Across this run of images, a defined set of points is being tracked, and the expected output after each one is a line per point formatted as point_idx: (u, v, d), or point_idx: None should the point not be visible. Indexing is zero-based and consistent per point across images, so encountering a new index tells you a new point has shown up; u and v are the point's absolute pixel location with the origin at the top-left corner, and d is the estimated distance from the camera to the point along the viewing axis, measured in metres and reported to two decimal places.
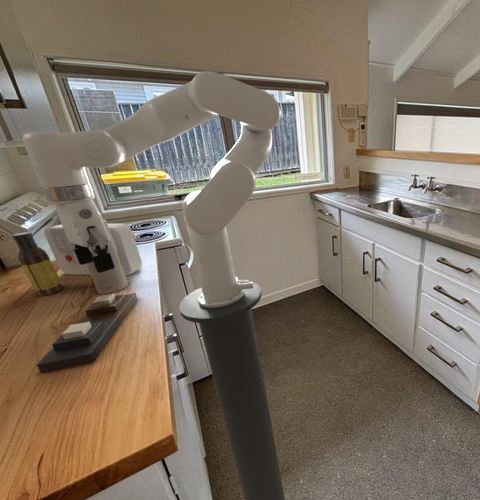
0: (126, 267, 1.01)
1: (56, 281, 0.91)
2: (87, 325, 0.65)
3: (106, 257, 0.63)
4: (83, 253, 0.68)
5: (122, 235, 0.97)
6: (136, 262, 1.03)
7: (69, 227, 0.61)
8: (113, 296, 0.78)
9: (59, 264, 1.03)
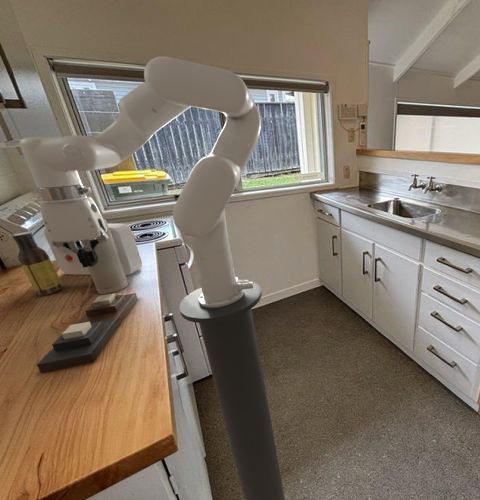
0: (126, 267, 1.01)
1: (56, 281, 0.91)
2: (87, 325, 0.65)
3: (95, 252, 0.73)
4: None
5: (122, 235, 0.97)
6: (136, 262, 1.03)
7: (75, 223, 0.67)
8: (113, 296, 0.78)
9: (59, 264, 1.03)
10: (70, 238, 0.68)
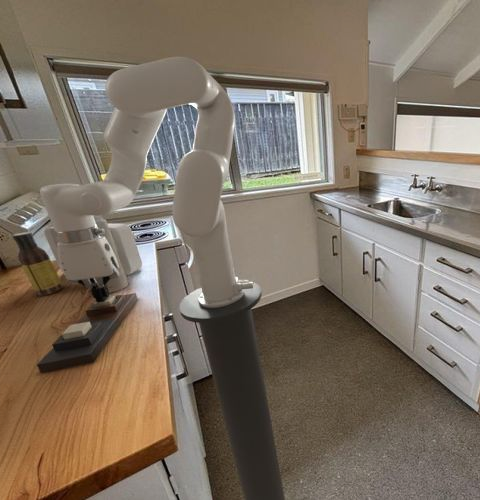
0: (126, 267, 1.01)
1: (56, 281, 0.91)
2: (87, 325, 0.65)
3: (106, 287, 0.76)
4: None
5: (122, 235, 0.97)
6: (136, 262, 1.03)
7: (89, 262, 0.70)
8: (114, 297, 0.78)
9: (59, 264, 1.03)
10: (84, 276, 0.71)
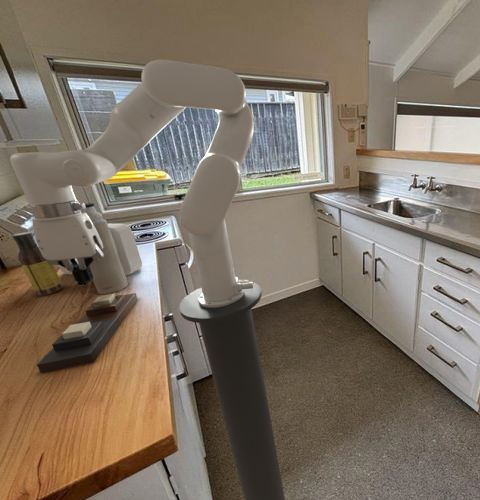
0: (126, 267, 1.01)
1: (56, 281, 0.91)
2: (87, 325, 0.65)
3: (89, 269, 0.70)
4: None
5: (122, 235, 0.97)
6: (136, 262, 1.03)
7: (69, 240, 0.64)
8: (113, 296, 0.78)
9: None
10: (64, 256, 0.65)
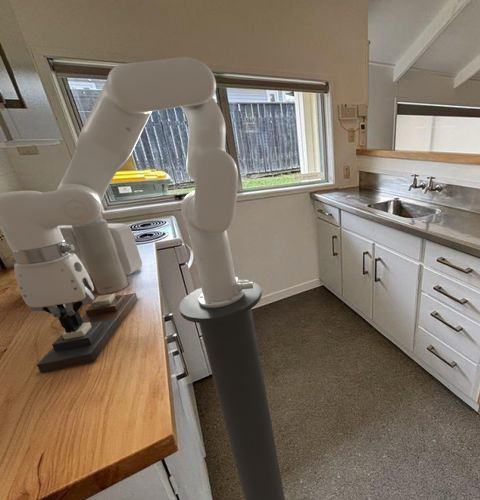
0: (126, 267, 1.01)
1: None
2: (88, 325, 0.65)
3: (79, 313, 0.64)
4: None
5: (122, 235, 0.97)
6: (136, 262, 1.03)
7: (55, 286, 0.58)
8: (113, 296, 0.78)
9: None
10: (50, 303, 0.59)
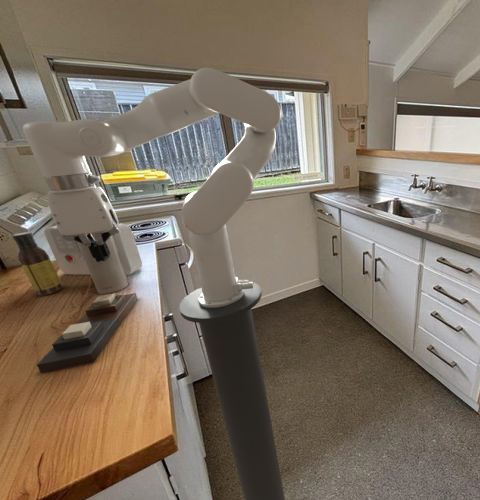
0: (126, 267, 1.01)
1: (56, 281, 0.91)
2: (87, 325, 0.65)
3: (106, 245, 0.69)
4: None
5: (122, 235, 0.97)
6: (136, 262, 1.03)
7: (86, 214, 0.63)
8: (113, 296, 0.78)
9: (59, 264, 1.03)
10: (81, 231, 0.64)
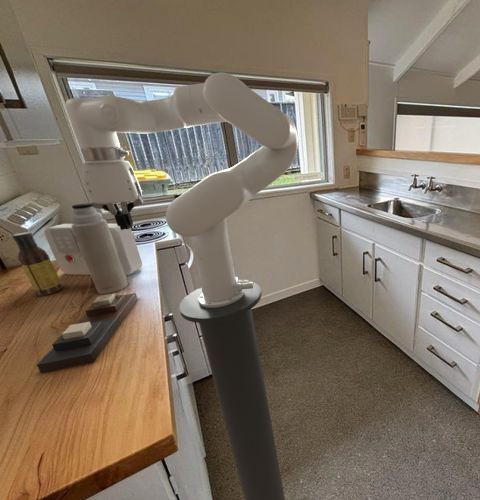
0: (126, 267, 1.01)
1: (56, 281, 0.91)
2: (87, 325, 0.65)
3: (130, 215, 0.75)
4: None
5: (122, 235, 0.97)
6: (136, 262, 1.03)
7: (114, 184, 0.69)
8: (113, 296, 0.78)
9: (59, 264, 1.03)
10: (109, 200, 0.70)
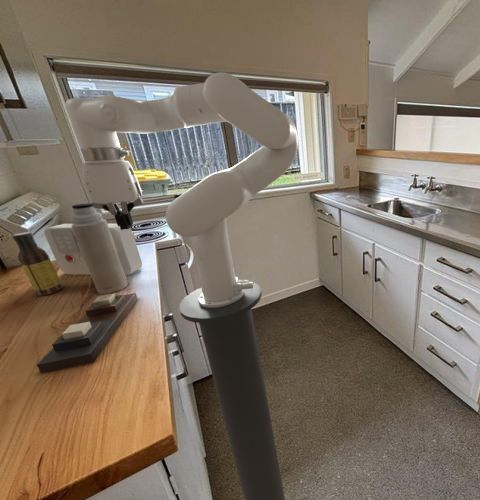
0: (126, 267, 1.01)
1: (56, 281, 0.91)
2: (87, 325, 0.65)
3: (130, 215, 0.75)
4: None
5: (122, 235, 0.97)
6: (136, 262, 1.03)
7: (114, 184, 0.69)
8: (113, 296, 0.78)
9: (59, 264, 1.03)
10: (109, 200, 0.70)
